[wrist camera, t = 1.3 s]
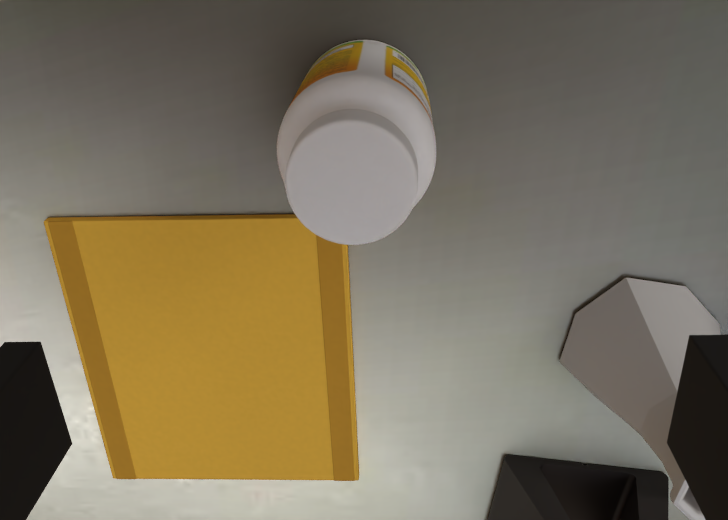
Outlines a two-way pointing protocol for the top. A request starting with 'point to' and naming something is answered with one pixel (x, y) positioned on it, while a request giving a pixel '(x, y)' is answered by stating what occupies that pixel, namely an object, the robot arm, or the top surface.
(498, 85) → the top surface
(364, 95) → the supplement bottle
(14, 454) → the robot arm
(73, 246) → the yellow tray
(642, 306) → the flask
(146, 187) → the top surface
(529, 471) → the phone stand
